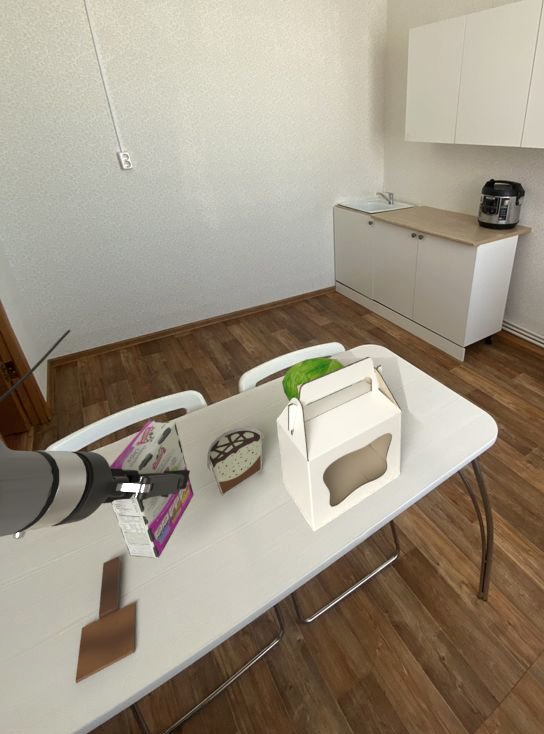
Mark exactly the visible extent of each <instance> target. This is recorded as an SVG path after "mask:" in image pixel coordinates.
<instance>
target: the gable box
mask: <svg viewBox="0 0 544 734" xmlns="http://www.w3.org/2000/svg"><path fill="white" fill-rule="evenodd" d="M383 374H384V373H383V366H382V365H381V364H379V365H377V366H376V367H375V366H374V361H373V359H372V358H371V357H370V356H367V357H364V358H361V359H358V360H357V361H354V362H352V363H349V364H346V365H344V367H342V368H339V369H337V370H334V371H332V372H329V373H327V374H325V375H322V376H320V377H317V378H315V379H312V380H310V381H307V382H305V383H303V384H300V385H298V386H297V390H298V393H299V399H298V398H292V399H291V401H289V402H288V403H287V404H286V406H285V408H284V409H283V411H282V412H281V413H280V414H279V416H278V417H277V419H276V420H275V421H276V430H277V438H278V446H279V453H280V454H279V456H280V465H281V473H282V483H283V486H284V488H285V489H286V492H287V493H288V494H289V496H290V497H291V499H292V501H293V502H294V503H295V505H296V507H297V508H298V510H299V511H300V513H301V514H302V517H304V519H305V520H306V522H307V524H308V525H309V527H310V529H311V530H312V532H316V531H318V530H319V529H321V528H322V527H324V526H325V525H327V524H329V523H330V522H331V521H333V520H334V519H336V518H337V517H339V516H341V515H342V514H344V513H345V512H346V511H348V510H350V509H351V508H353V507H354V506H355V505H357V504H359V503H361V502H362V501H363V500H364V499H366V498H368V497H369V496H371V495H372V494H374V493H375V492H377V491H379V490H380V489H382V488H383V487H384V486H386V485H388V484H389V483H390V482H392V481H394V480H395V479H396V478H398V477H399V476H400V475H401V450H402V449H401V448H402V447H401V446H402V442H401V441H402V413H403V411H402V408H401V407H400V405H399V403H398V401H397V399H396V398H395V397H394V395H393V393H392V391H391V389H390V388H389V385H388V384H387V383H386V382H387V381H386V380H385V378H384V375H383ZM350 385H352V386H350ZM347 386H350V387H347ZM345 387H347V388H345ZM343 388H345V389H343ZM341 389H343V390H341ZM338 390H341V391H338ZM336 391H338V392H336ZM334 392H336V393H334ZM332 393H334V394H332ZM329 394H332V395H329ZM327 395H329V396H327ZM325 396H327V397H325ZM323 397H325V398H323ZM320 398H323V399H321V400H318V399H320ZM316 400H318V401H316ZM314 401H316V402H314ZM311 402H314V403H312V404H310V403H311ZM307 404H309V405H307ZM306 405H307V406H306Z"/></svg>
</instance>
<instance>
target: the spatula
mask: <svg viewBox="0 0 544 734" xmlns="http://www.w3.org/2000/svg"><path fill="white" fill-rule="evenodd" d="M121 562H122V560H121V558H120V555H119V556H116V557H114V558H112V559H109V560H107V561H105V562H103V564H102V574H101V585H100V586H101V587H100V597H99V599H100V600H99V606H98V607H99V609H98V618H99V619H97V620H95V621H93V622H91V623H89V624H87V625H85V626H83V627H81V633H80V640H79V648H78V659H77V666H76V674H75V684H78V683H80V682H82V681H84V680H86V679H87V678H89V677H91V676H93V675H95V674H96V673H98V672H101V671H102V670H104V669H107V668H108V667H110V666H111V665H114V664H115V663H117V662H120V661H121V660H123V659H125V658H126V657H129V656H130V655H132V654H134V653H135V631H136V623H135V622H136V616H135V615H136V603H135V602H132V603H130V604H129V605H126V606H124V607H121V608H120V609H119V605H120V604H119V603H120V602H119V601H120V588H121V587H120V585H121Z"/></svg>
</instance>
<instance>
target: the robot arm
mask: <svg viewBox="0 0 544 734" xmlns="http://www.w3.org/2000/svg"><path fill="white" fill-rule="evenodd" d="M70 332H71V329H67V330H66V331H65V332H64V333H63V334H62V336H61V337H59V339H58V340H57V341H56V342H55V343H54V344H53V345H52V346H51V347H50V348H49V350H48V351H47V352H46V353H45V354H44V355H43V356H42V357H41V358H40V359H39V360H38V361H37V362H36V364H34V365H33V367H32V368H31V369H30V370H29V371H28V372H26V374H24V375H23V377H21V378H20V379H19V381H17V382H16V383H15V384H13V386H12V387H10V389H8V390H7V391H6V392H5V393H3V395H1V396H0V403H1V402H2V401H3V400H5V399H6V398H7V397H8V396H9V395H11V394H12V392H14V391H15V390H16V389H17V388H19V386H21V384H22V383H24V382H25V380H27V379H28V378H29V377H30V375H31V374H33V372H35V371H36V369H38V367H40V365H41V364H42V363H43V362H44V361H45V360H46V359H47V358H48V357H49V356H50V355H51V354H52V352H53V351H54V350H55V349H56V348H57V347H58V345H59V344H60V343H61V342H62V341H63V340H64V339H65V338H66V337H67V336H68V335H69V333H70ZM110 466H111V465H110V464H109V462H108V460H107V459H106V458H105V457H104V456H103V455H101V454H100V453H97V452H94V451H69V450H42V449H41V450H40V449H39V450H37V449H36V450H13V449H10V448H9V447H7V446H6V444H5V443H4V441H3V440H2V439H1V438H0V538H1V537H5V536H11V535H12V538H13V539H14V540H21V539H23V538H25V536H26V533H27V532H28V531H34V530H40V529H45V528H49V527H57V526H62V525H68V524H74V523H78V522H80V521H83V520H86V519H87V518H89V517H90V516H92V514H94V513H95V512H96V511H97V510H98V509H99V508H100V507H101V505H102V504H111V502H113V501H114V500H123V499H130V498H131V497H132V496H133V495H134V494H135V496H134V497H135V498H136V499H137V500H144V499H147V498H150V497H156V496H161V497H168V496H169V494H176V493H179V490H180V489H186V486H187V482H188V477H189V478H190V472H191V469H187V470H178V471H164V473H146V474H139V473H138V471H137V470H123V469H121V468H110Z"/></svg>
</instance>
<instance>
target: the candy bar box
mask: <svg viewBox="0 0 544 734" xmlns="http://www.w3.org/2000/svg"><path fill="white" fill-rule="evenodd" d="M109 466H110V468H121V469H123V470H137V471H138V473H139V474H146V473H164V471H178V470H188V467H187V463H186V459H185V455H184V451H183V448H182V443H181V439H180V435H179V431H178V427H177V423H176V421H163V420H159V421H157V420H148V421H147V422H146V423H145V424H144V425H143V427H142V428H141V429H140V430H139V432H138V433H137V434H136V435H135V437H133V439H132V440H131V441H130V442H129V444H127V446H126V447H125V448H124V449H123V450H122V451H121V453H120V454H119V455H118V456H117V457H116V459H115V460H114V461H113V462H112V464H111V465H109ZM134 496H135V494H134V495H133V496H132V497H131V498H130V499H123V500H114V501H113V502H111V503H110V504H111V506H112V509H113V511H114V513H115V518H116V520H117V523H118V525H119V529H120V532H121V533H122V536H123V539H124V543H125V545H126V547H127V550H128V551H127V552H128V554H129V556H130V557H136V558H139V557H140V558H149V559H150V558H152V559H159V558H160V557H161V555H162V553H163V551H164V549H165V548H166V546H167V544H168V542H169V540H170V538H171V537H172V535H173V533H174V532H175V530H176V528H177V526H178V524H179V522H180V520H181V519H182V517H183V515H184V514H185V511H186V510H187V509H188V506H189V504H190V503H191V501H192V499H193V497H194V491H193V487H192V482H191V478H190V476H189V477H188V482H187V486H186V489H180V490H179V493H176V494H169V496H168V497H161V496H156V497H150V498H147V499H144V500H137V499H136V498H135V497H134Z"/></svg>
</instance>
